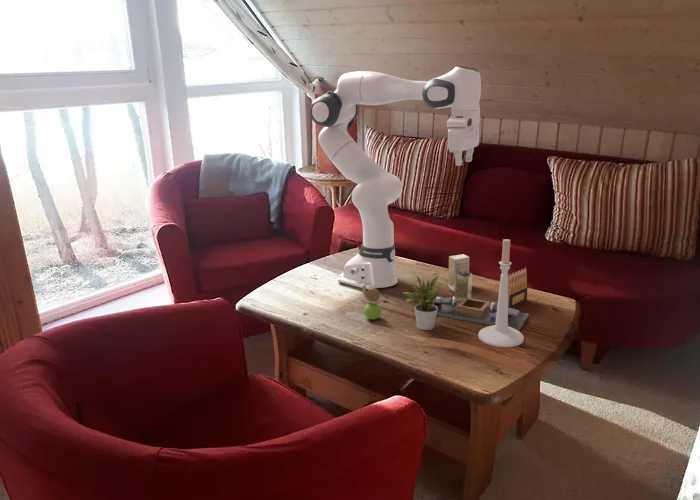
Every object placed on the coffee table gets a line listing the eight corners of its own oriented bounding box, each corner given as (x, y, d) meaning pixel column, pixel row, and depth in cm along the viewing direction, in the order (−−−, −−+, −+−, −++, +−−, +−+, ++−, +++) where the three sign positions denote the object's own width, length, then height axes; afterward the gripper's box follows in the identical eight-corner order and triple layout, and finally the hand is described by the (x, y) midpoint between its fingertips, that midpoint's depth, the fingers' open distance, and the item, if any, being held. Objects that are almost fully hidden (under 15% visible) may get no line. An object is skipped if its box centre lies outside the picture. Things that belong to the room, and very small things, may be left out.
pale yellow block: (455, 300, 197) (456, 273, 194) (459, 296, 200) (460, 269, 197) (467, 302, 195) (468, 274, 192) (471, 298, 198) (472, 271, 196)
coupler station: (419, 311, 188) (419, 301, 187) (433, 299, 198) (433, 290, 197) (519, 330, 173) (520, 319, 172) (528, 316, 183) (529, 306, 182)
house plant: (414, 312, 187) (415, 264, 183) (455, 320, 180) (457, 271, 176) (395, 328, 175) (395, 277, 171) (437, 338, 169) (439, 285, 164)
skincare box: (462, 285, 210) (464, 253, 207) (469, 289, 207) (470, 256, 203) (447, 288, 208) (448, 255, 205) (453, 292, 204) (454, 259, 201)
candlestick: (533, 339, 166) (541, 239, 158) (501, 351, 160) (508, 247, 151) (499, 324, 177) (505, 230, 168) (469, 335, 170) (473, 237, 162)
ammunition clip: (509, 310, 188) (511, 275, 185) (504, 308, 189) (506, 273, 186) (526, 301, 195) (529, 267, 191) (522, 300, 196) (524, 266, 193)
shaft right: (520, 319, 178) (521, 306, 176) (514, 323, 175) (515, 310, 174) (493, 312, 183) (494, 300, 182) (487, 316, 181) (488, 303, 180)
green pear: (365, 314, 187) (365, 278, 184) (384, 317, 184) (383, 281, 181) (358, 320, 182) (357, 284, 179) (376, 323, 179) (376, 287, 176)
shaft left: (427, 308, 188) (427, 296, 187) (429, 304, 191) (429, 292, 190) (455, 311, 185) (455, 298, 184) (456, 307, 188) (457, 294, 187)
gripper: (466, 117, 192) (464, 158, 196) (444, 121, 175) (443, 167, 179) (485, 117, 189) (483, 159, 193) (464, 122, 172) (463, 168, 176)
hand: (463, 163), depth 186 cm, fingers open, 8 cm apart
